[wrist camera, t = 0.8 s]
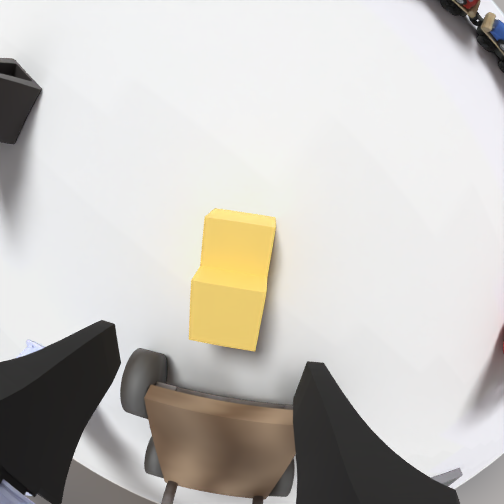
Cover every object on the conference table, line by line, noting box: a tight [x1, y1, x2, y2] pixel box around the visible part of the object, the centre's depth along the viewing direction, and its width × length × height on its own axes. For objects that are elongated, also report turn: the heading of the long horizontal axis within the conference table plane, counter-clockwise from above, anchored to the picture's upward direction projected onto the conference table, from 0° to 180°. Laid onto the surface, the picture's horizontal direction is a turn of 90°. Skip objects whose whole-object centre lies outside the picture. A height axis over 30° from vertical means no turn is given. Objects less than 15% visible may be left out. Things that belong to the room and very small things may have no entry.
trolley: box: [120, 348, 296, 504], centre depth 18 cm, size 16×20×15 cm
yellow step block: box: [189, 208, 276, 351], centre depth 17 cm, size 4×7×5 cm, turn 172°
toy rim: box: [432, 468, 462, 486], centre depth 35 cm, size 22×22×2 cm
